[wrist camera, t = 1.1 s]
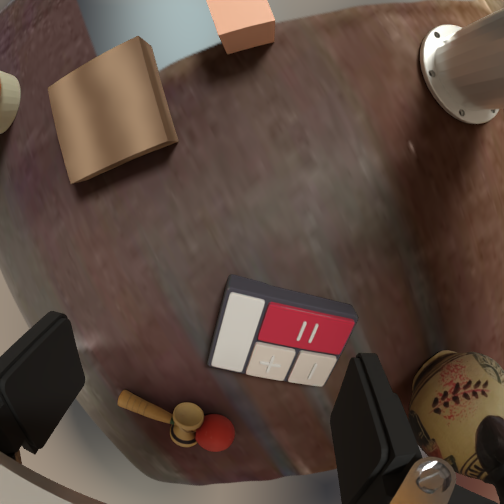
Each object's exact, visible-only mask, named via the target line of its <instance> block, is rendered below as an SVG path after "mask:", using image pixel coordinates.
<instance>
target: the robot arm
mask: <svg viewBox="0 0 504 504" xmlns="http://www.w3.org/2000/svg"><path fill="white" fill-rule="evenodd" d="M420 64H421V70H422V73H423V77H424V79H425V82H426V84H427V86H428V88H429V90H430V92H431V93H432V95H433V97H434V98H435V100H436V101H437V102H438V103H439V105H440V106H441V107H442V108H443V109H444V110H445V111H446V112H447V113H449V114H450V115H451V116H453V117H454V118H456V119H458V120H460V121H462V122H465V123H469V124H480V123H485V122H488V121H490V120H491V119H492V118H493V117H495V115H496V114H497V112H498V111H499V109H504V8H503V9H501V10H499V11H496V12H494V13H492V14H490V15H488V16H486V17H484V18H482V19H480V20H478V21H476V22H474V23H472V24H470V25H468V26H466V27H464V28H461V27H459V26H455V25H441V26H438V27H435V28H434V29H432V30H431V31H430V32H429V33H428V34H427V35H426V36H425V37H424V39H423V41H422V44H421V48H420ZM429 74H430V75H429ZM84 383H85V376H84V372H83V369H82V365H81V362H80V358H79V354H78V351H77V347H76V343H75V339H74V335H73V330H72V326H71V322H70V320H69V319H68V318H67V316H66V315H65V314H62V313H58V312H54V311H50V312H49V313H47V314H46V315H45V316H44V317H43V318H42V319H41V320H39V321H38V322H37V323H36V324H35V325H34V326H33V327H32V328H31V329H29V330H28V331H27V332H26V333H25V334H24V335H23V336H22V337H21V338H20V339H19V340H18V341H17V342H15V343H14V344H13V345H12V346H11V347H10V348H9V349H8V350H7V351H6V352H5V353H4V354H3V355H2V356H1V357H0V504H106V503H103V502H100V501H98V500H95V499H93V498H90V497H88V496H85V495H83V494H81V493H78V492H76V491H73V490H71V489H69V488H67V487H65V486H62V485H60V484H58V483H56V482H54V481H52V480H50V479H48V478H46V477H44V476H42V475H40V474H38V473H36V472H34V471H33V470H31V469H29V468H27V467H25V466H24V465H22V462H21V456H20V451H19V449H20V447H21V446H23V448H24V449H26V450H28V451H29V452H31V453H33V454H36V452H37V451H38V449H41V448H42V447H43V446H44V445H45V443H46V442H47V440H48V439H49V437H50V436H51V434H52V433H53V431H54V429H55V428H56V426H57V425H58V423H59V422H60V420H61V419H62V417H63V416H64V414H65V413H66V411H67V410H68V408H69V406H70V405H71V404H72V402H73V401H74V399H75V398H76V396H77V395H78V393H79V392H80V390H81V389H82V388H83V386H84ZM330 424H331V431H332V437H333V444H334V450H335V457H336V464H337V471H338V478H339V486H340V493H341V501H342V504H498V503H496V502H494V501H492V500H490V499H487V498H485V497H482V496H480V495H478V494H476V493H474V492H471V491H469V490H467V489H465V488H463V487H461V486H459V485H456V484H455V482H456V475H455V472H454V470H453V468H452V466H451V465H450V464H449V463H448V462H446V461H445V460H443V459H441V458H437V457H425V458H422V455H421V452H420V450H419V447H418V444H417V442H416V439H415V436H414V434H413V431H412V428H411V426H410V423H409V421H408V418H407V416H406V413H405V411H404V408H403V406H402V404H401V401H400V399H399V397H398V395H397V394H396V393H393V392H392V389H391V387H390V384H389V382H388V380H387V377H386V375H385V372H384V370H383V368H382V365H381V363H380V361H379V358H378V356H377V355H376V354H375V353H359V354H357V356H356V358H351V360H350V362H349V365H348V368H347V371H346V374H345V377H344V380H343V383H342V386H341V389H340V392H339V395H338V397H337V400H336V403H335V405H334V408H333V411H332V413H331V418H330Z"/></svg>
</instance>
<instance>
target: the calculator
mask: <svg viewBox="0 0 504 504" xmlns="http://www.w3.org/2000/svg"><path fill="white" fill-rule="evenodd" d="M357 321H358V316H357V314H356V312H355V310H354V308H353V307H352V305H350V304H346V303H341V302H337V301H333V300H329V299H325V298H321V297H317V296H313V295H309V294H304V293H300V292H296V291H291V290H287V289H283V288H279V287H275V286H271V285H268V284H266V283H263V282H259V281H255V280H252V279H248V278H244V277H240V276H237V275H229V277H228V280H227V284H226V288H225V291H224V295H223V299H222V303H221V307H220V311H219V315H218V319H217V323H216V327H215V331H214V335H213V339H212V343H211V347H210V352H209V357H208V362H207V364H208V365H209V366H211V367H215V368H219V369H224V370H228V371H233V372H238V373H242V374H247V375H252V376H257V377H262V378H268V379H273V380H279V381H287V382H292V383H298V384H305V385H312V386H324V385H325V384H326V382H327V380H328V378H329V376H330V375H331V373H332V371H333V369H334V367H335V365H336V363H337V361H338V359H339V358H340V356H341V354H342V352H343V350H344V348H345V346H346V344H347V342H348V340H349V338H350V336H351V333H352V331H353V329H354V327H355V325H356V323H357Z"/></svg>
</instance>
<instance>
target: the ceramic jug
mask: <svg viewBox="0 0 504 504" xmlns="http://www.w3.org/2000/svg"><path fill="white" fill-rule="evenodd" d="M412 393H413V394H412V396H411V400H410V404H409V423H410V426H411V428H412V431H413V434H414V436H415V439H416V442H417V444H418V445H419V446H420V448H421V449H422V450H423V451H424V452H425V453H426V454H427V455H428V456H429V457H437V458H441V459H443V460H445V461H446V462H448V463H449V464H450V465H451V466H452V468H453V470H454V471H455V472H457V473H459V474H462V475H464V476H467V477H471V478H475V479H480V480H482V481H484V482H485V483H489V484H493V485H494V486H495V488H496V491H497V494H498V496H499V500H500V504H504V370H503V369H502V368H501V367H500V365H499V364H498V363H496V362H495V361H494V360H493V359H491V358H490V357H488V356H486V355H483V354H479V353H476V352H467V353H457V352H454V351H450V350H442V351H440V352H438V353H437V354H436V355H435V356H433V357H432V358H431V359H429V360H428V361H427V362H426V363H425V364H424V365H423V366H422V367H421V369H420V370H419V371H418V372H417V374H416V375H415V377H414V379H413V384H412Z"/></svg>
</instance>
